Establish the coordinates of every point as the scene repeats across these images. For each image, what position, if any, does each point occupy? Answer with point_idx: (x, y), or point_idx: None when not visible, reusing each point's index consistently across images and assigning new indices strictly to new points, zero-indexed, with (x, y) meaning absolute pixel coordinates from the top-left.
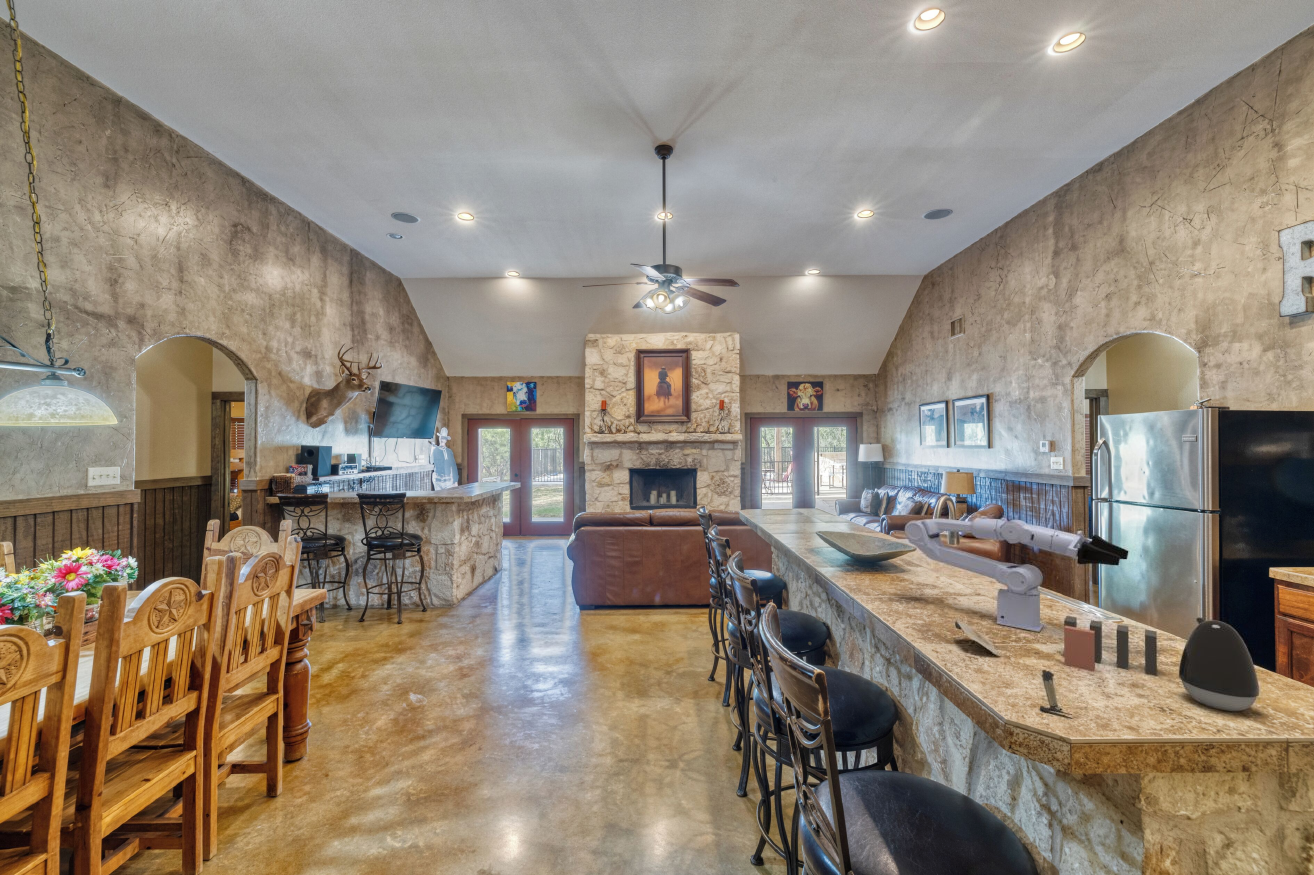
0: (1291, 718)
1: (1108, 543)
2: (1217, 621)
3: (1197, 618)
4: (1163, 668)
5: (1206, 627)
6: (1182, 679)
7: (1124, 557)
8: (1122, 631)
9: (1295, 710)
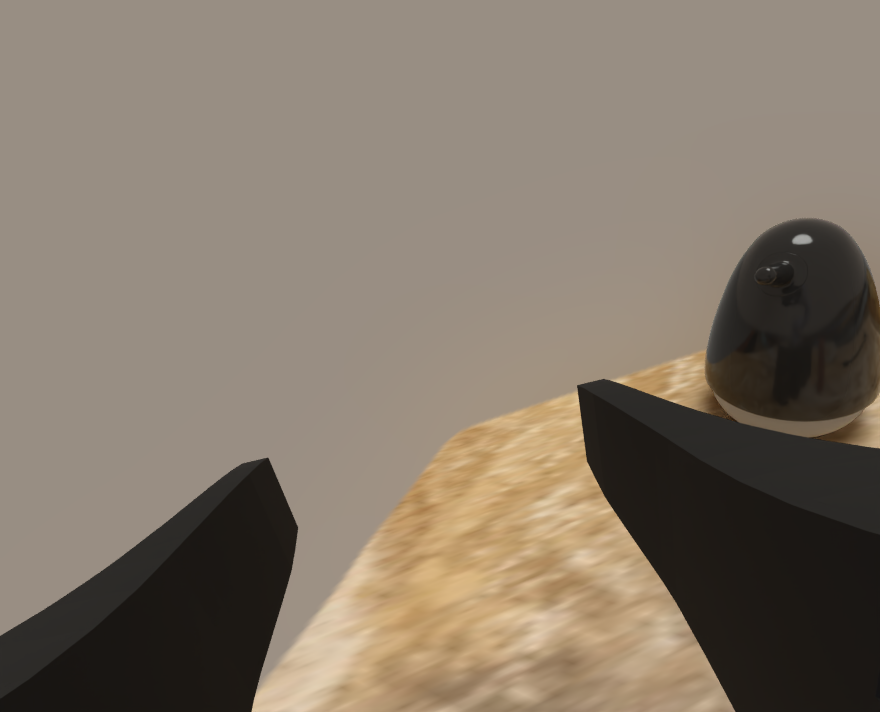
0: (678, 368)
1: (152, 571)
2: (805, 220)
3: (775, 271)
4: (656, 578)
5: (848, 233)
6: (878, 394)
7: (290, 527)
8: None
9: (622, 383)
